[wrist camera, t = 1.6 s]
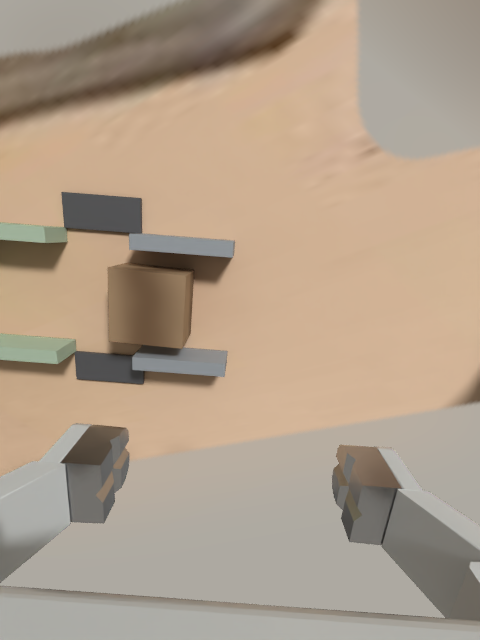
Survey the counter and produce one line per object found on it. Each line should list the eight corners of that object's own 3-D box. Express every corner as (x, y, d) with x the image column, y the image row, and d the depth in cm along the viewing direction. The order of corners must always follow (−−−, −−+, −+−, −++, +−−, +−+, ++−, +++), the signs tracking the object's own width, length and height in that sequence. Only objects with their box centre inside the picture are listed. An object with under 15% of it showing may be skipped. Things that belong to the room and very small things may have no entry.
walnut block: (194, 269, 27) (186, 275, 23) (190, 333, 29) (182, 348, 25) (127, 262, 27) (107, 267, 23) (127, 326, 29) (108, 341, 25)
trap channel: (237, 206, 25) (236, 202, 22) (224, 388, 30) (222, 405, 27) (-39, 184, 25) (-76, 178, 22) (-8, 370, 30) (-35, 385, 27)
